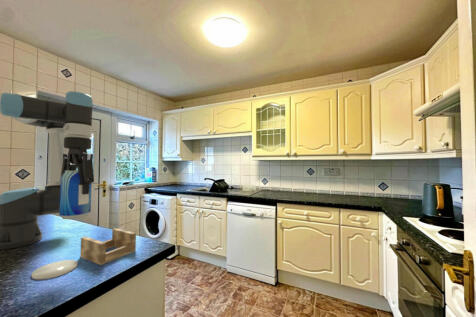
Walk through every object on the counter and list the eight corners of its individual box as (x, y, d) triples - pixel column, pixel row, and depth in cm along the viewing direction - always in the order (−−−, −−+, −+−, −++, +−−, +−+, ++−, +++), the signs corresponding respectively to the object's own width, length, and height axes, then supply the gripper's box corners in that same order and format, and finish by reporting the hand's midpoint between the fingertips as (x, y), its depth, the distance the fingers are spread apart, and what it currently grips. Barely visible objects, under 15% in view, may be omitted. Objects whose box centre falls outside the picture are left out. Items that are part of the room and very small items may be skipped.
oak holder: (80, 257, 74) (81, 237, 74) (115, 244, 86) (115, 228, 86) (100, 265, 68) (101, 244, 68) (135, 250, 80) (135, 233, 80)
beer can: (74, 220, 65) (75, 171, 65) (52, 219, 66) (54, 170, 66) (96, 214, 73) (97, 170, 73) (76, 213, 74) (78, 169, 75)
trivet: (25, 273, 63) (25, 271, 63) (67, 259, 72) (67, 257, 72) (40, 283, 58) (40, 281, 58) (84, 266, 67) (84, 264, 67)
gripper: (49, 137, 71) (46, 201, 70) (83, 134, 62) (81, 207, 62) (73, 139, 78) (71, 198, 77) (108, 137, 69) (106, 203, 68)
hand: (75, 202), depth 69 cm, fingers closed on beer can, 8 cm apart
